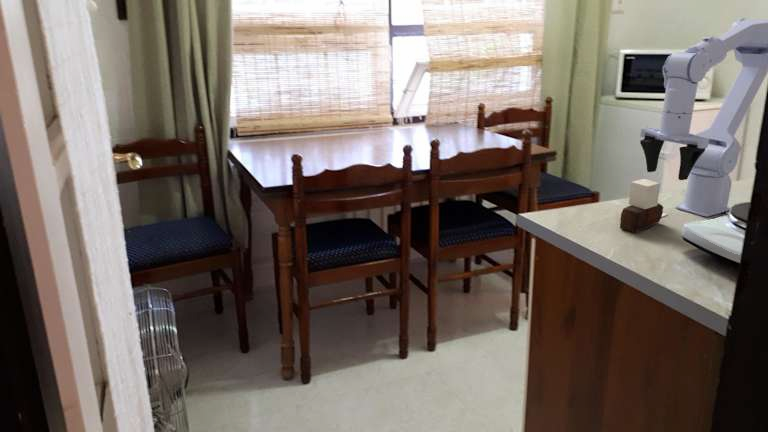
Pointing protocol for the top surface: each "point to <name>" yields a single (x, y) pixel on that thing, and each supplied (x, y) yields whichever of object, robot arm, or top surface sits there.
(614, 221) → the top surface
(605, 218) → the top surface
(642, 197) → the cream block
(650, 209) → the brick
